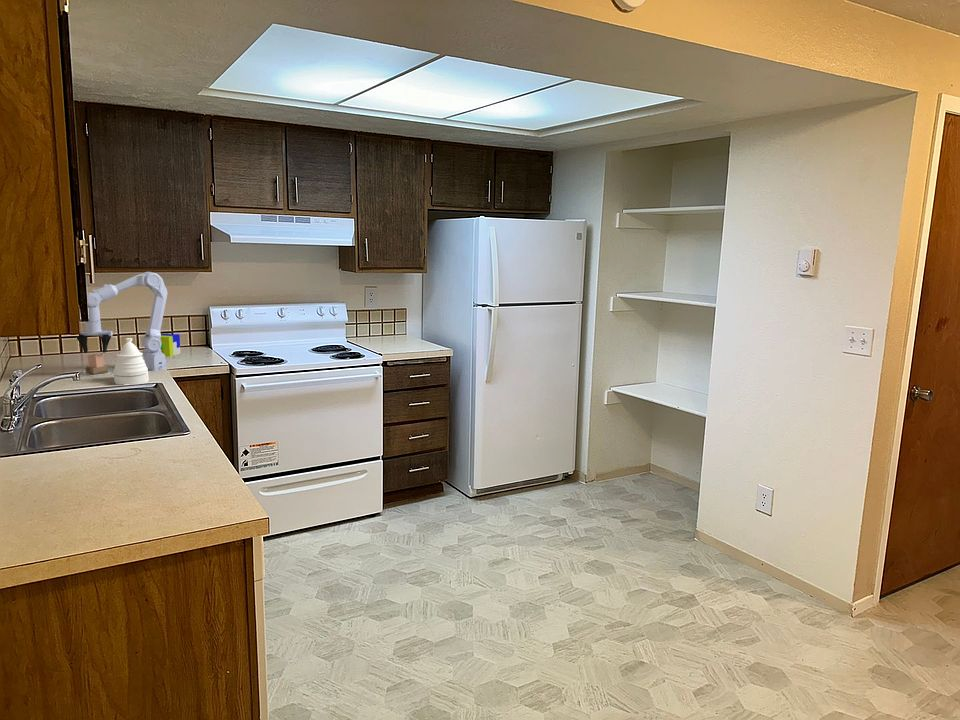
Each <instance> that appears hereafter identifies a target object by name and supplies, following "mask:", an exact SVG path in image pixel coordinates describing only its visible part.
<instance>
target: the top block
mask: <svg viewBox="0 0 960 720" xmlns="http://www.w3.org/2000/svg"><path fill="white" fill-rule="evenodd" d="M87 360H88V361H87V362H88V366H89V367H94V368H98V367H102V366H105V363H104V355H103V354H99V353H98V354H97V353H93V354H89V355H87Z"/></svg>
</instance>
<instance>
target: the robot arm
mask: <svg viewBox="0 0 960 720" xmlns="http://www.w3.org/2000/svg"><path fill="white" fill-rule="evenodd" d="M102 285H103V286H102V287H100V288H97V289H92V290H91V292H89V291H88V292H87V293H88V308H89V321H88V322H85V321H84V323H85V324H84V325H85V330H80V331H81V334H80V335H79V336H76V340H77V341H78V342H79V344H80V346H81V348H82V351H83V353H85V354H86V353H88V351H89V348H88V337H90V336H91V337H92V336H94V337H95V336H97V337H98V336H100V340H101V346H102V354H103V353H104V354H106V353H107V352H108V347H109V343H110V340H111V339H112V336H113V335H114V333H113V330H103V329H102V325H101V312H100V304H101V303H104V302H107V301H109V300H112V299H113V298H115V297H118V293H120V292H122V291H125V290H127V289H129V288H130V289H131V288H132V287H135V286H146V287H147V288H149V290H151V292H152V293H153V294H154V297H153V302H152V307H151V312H150V316H149V321H148V322H149V323H148V328H147V330H146V331H145V334H144V337H143V338H142V339H141V344H142V346H143V347H144V349H142V351H143V352H142V353H143V355H142V356H143V360H144V361H145V364H146V367H147V368H148V371H153V372H155V371H161V370H167V358H166V357H167V356H165V355H164V354H163V353H162V352H161V349H160V348H161V345H162V344H161V340H160V339H161V334H162V333H161V329H162V325H163V324H162V323H163V319H164V318H163V317H164V313H165V309H166V303H167V298H168V290H167V287H166V285H165V282H164V278H162V277H161V275H159V274H158V273H155V272H152V271H145V272H143V273H139V274H137V275H133V276H132V277H131V276H130V277H129V278H127V279H125V280H122V281H121V282H119V283H117V284H115V285H113V284H111V283H109V284H107V283H105V284H102Z"/></svg>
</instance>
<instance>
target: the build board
mask: <svg viewBox="0 0 960 720" xmlns="http://www.w3.org/2000/svg"><path fill="white" fill-rule="evenodd" d="M114 368H115V366H114V367H107V370H108V373H105V374H99V375H90V374H86V371H81V372H79V373H80V374H79V375H83V376H87V377H91V378H93V377H94V378H95V377H98V376H99V377H100V376H105V375H112V374H114Z"/></svg>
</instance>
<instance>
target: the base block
mask: <svg viewBox="0 0 960 720" xmlns="http://www.w3.org/2000/svg"><path fill="white" fill-rule="evenodd" d="M107 368H108V366H107V365H104V366H102V367H98V368H94V367H89V365H87V366H85V372H86V374H90V375H99V374H105V373H108V370H107Z"/></svg>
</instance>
